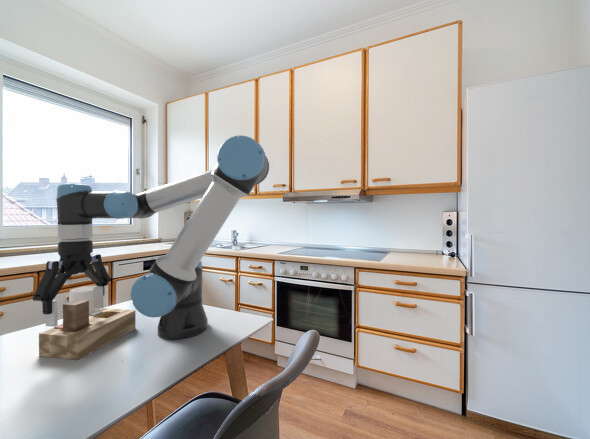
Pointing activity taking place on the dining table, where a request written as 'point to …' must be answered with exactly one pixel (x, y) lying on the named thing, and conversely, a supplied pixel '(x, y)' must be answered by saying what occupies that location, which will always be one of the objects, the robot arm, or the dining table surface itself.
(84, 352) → the box
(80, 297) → the cup
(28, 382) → the dining table surface
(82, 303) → the plug
